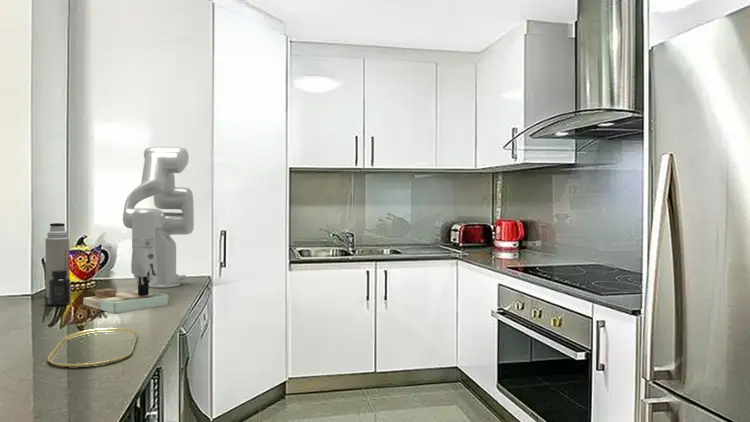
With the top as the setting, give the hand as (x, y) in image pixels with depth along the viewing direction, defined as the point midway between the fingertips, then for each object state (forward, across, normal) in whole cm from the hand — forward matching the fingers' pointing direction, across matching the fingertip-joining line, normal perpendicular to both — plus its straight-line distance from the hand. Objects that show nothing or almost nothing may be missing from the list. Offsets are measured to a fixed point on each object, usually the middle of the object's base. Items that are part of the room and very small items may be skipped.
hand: (143, 295), depth 202 cm
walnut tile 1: (+1, -3, 0) cm, 3 cm away
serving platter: (+4, -43, +37) cm, 57 cm away
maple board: (+4, +10, +4) cm, 11 cm away
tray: (+4, -2, +4) cm, 6 cm away
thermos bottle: (+4, +38, +13) cm, 41 cm away
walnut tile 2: (+1, +12, +8) cm, 14 cm away
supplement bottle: (+4, +22, +19) cm, 30 cm away
